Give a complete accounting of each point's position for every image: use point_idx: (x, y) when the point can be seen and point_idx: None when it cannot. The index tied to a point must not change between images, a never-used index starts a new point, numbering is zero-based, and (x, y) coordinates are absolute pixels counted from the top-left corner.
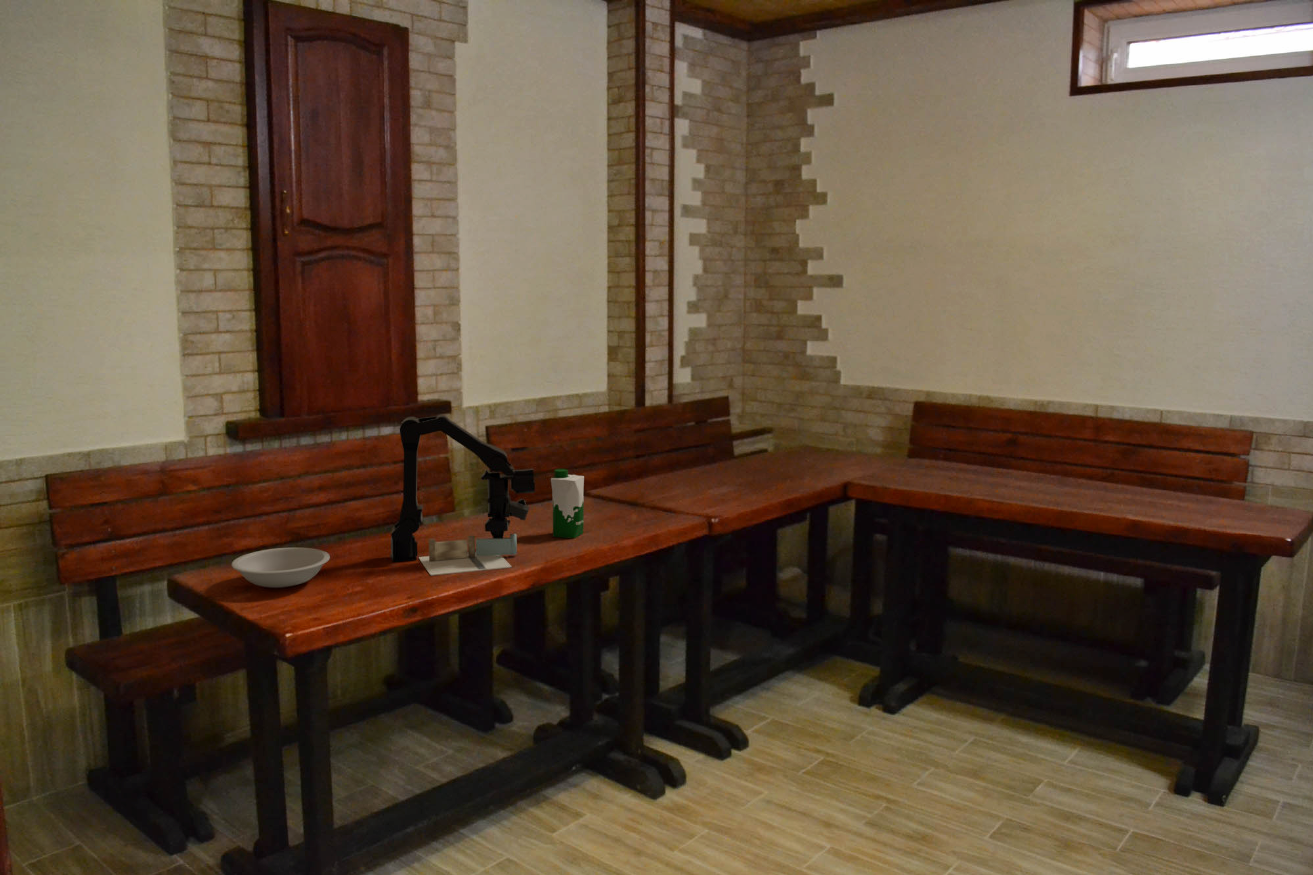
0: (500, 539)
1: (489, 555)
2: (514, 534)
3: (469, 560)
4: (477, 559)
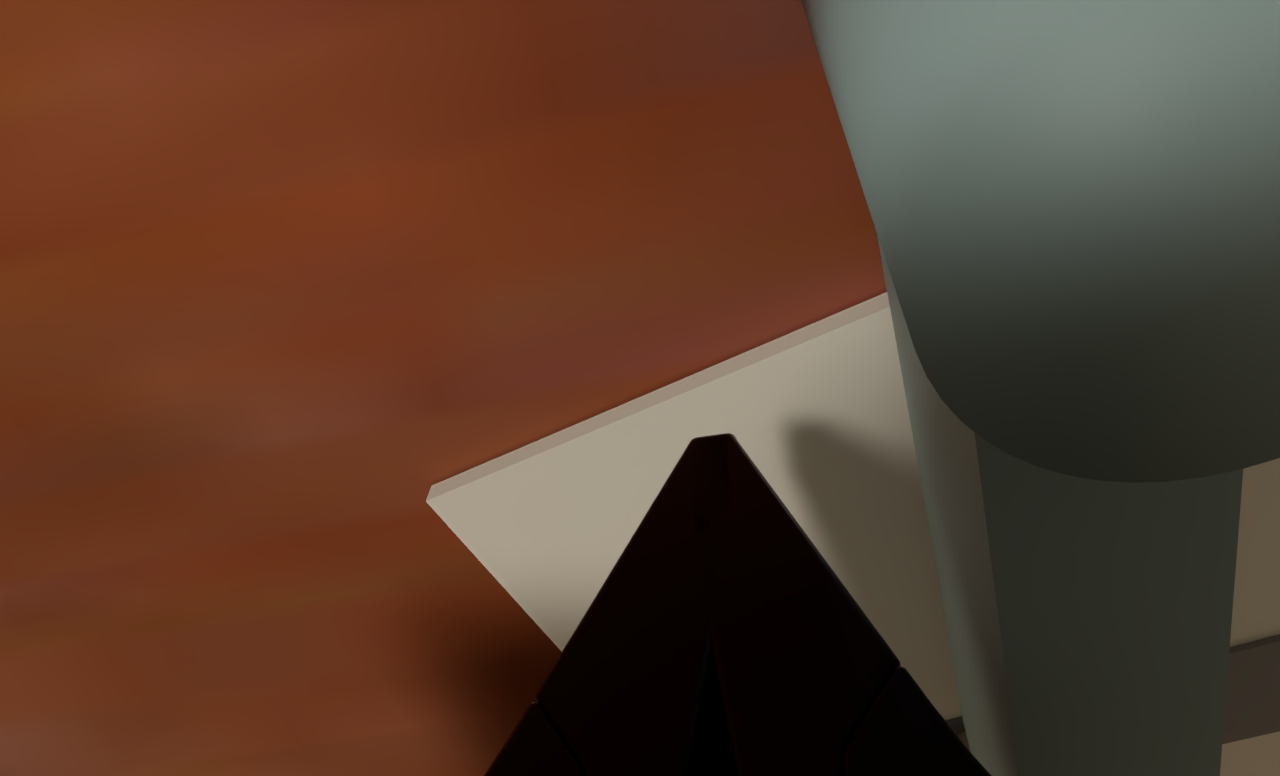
0: (1225, 673)
1: (918, 521)
2: (1204, 155)
3: (1273, 740)
4: (1266, 653)
